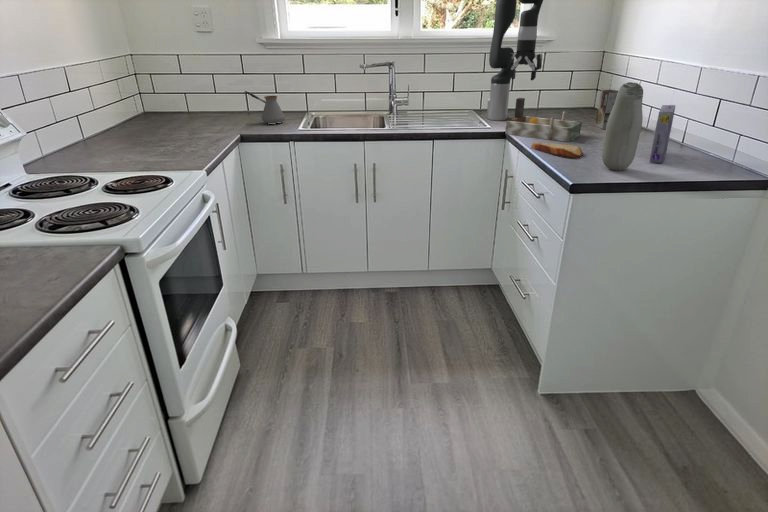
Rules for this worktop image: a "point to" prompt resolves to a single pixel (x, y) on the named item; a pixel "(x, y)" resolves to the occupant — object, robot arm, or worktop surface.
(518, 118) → the block
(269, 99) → the coffee pot
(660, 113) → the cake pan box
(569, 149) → the bread slice
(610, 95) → the coffee box
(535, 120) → the ball
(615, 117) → the grey bottle
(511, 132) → the beige and green tray
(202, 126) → the worktop surface
